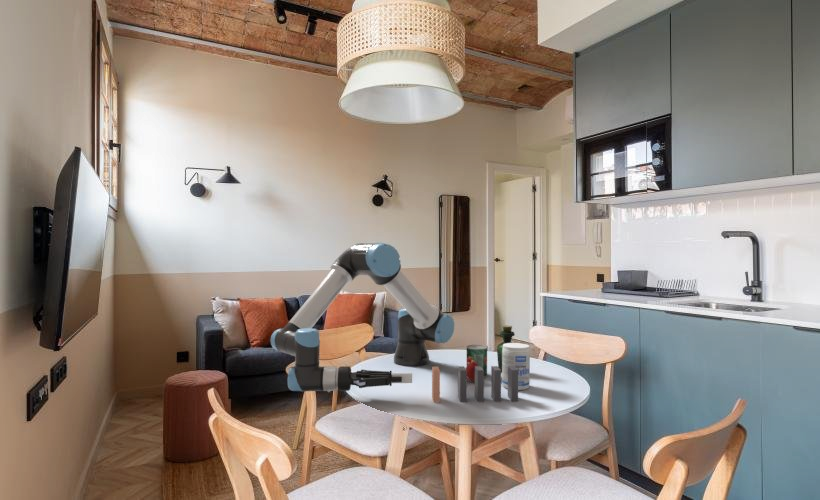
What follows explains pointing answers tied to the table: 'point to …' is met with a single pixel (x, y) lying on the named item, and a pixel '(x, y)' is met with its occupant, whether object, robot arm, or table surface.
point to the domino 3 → (496, 383)
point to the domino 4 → (512, 383)
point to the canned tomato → (478, 356)
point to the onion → (471, 371)
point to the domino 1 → (462, 384)
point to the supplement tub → (516, 363)
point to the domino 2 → (479, 384)
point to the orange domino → (435, 384)
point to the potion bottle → (507, 338)
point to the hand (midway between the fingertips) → (412, 378)
